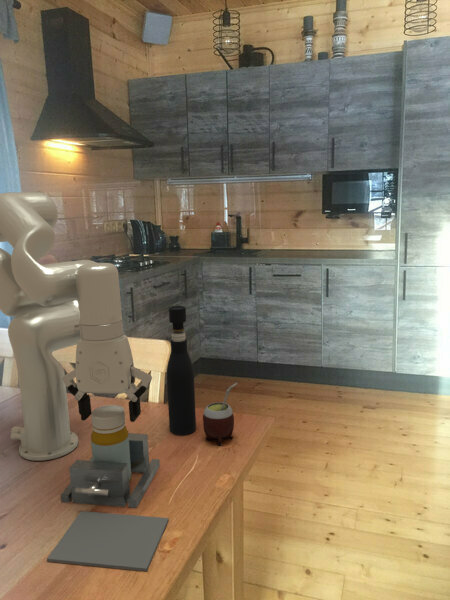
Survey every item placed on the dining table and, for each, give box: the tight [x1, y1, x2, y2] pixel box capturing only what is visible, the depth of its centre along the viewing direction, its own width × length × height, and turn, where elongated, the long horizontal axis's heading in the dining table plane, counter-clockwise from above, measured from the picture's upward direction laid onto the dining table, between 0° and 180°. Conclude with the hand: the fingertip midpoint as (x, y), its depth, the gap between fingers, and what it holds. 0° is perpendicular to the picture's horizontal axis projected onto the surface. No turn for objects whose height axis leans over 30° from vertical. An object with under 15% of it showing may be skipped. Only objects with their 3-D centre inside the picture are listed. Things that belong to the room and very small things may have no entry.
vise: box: [60, 432, 161, 509], centre depth 96 cm, size 14×17×7 cm
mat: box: [46, 510, 169, 572], centre depth 81 cm, size 16×12×1 cm
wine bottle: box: [166, 305, 197, 437], centre depth 116 cm, size 6×6×30 cm
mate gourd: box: [202, 382, 239, 447], centre depth 112 cm, size 8×8×15 cm
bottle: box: [90, 404, 132, 483], centre depth 96 cm, size 7×7×15 cm
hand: (110, 418), depth 94 cm, fingers open, 9 cm apart
